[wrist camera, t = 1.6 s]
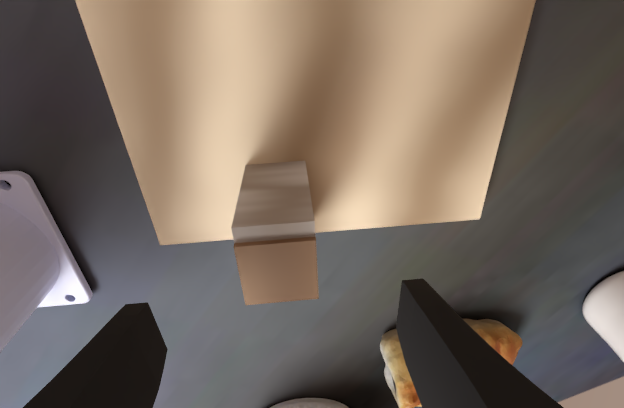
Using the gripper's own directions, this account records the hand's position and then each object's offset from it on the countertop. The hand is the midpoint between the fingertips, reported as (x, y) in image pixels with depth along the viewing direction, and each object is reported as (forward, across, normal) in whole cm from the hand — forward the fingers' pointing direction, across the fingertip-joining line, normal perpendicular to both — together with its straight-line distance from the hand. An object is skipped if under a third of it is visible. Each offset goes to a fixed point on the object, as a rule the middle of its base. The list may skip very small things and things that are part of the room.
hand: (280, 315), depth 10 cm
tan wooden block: (+7, 0, 0) cm, 7 cm away
